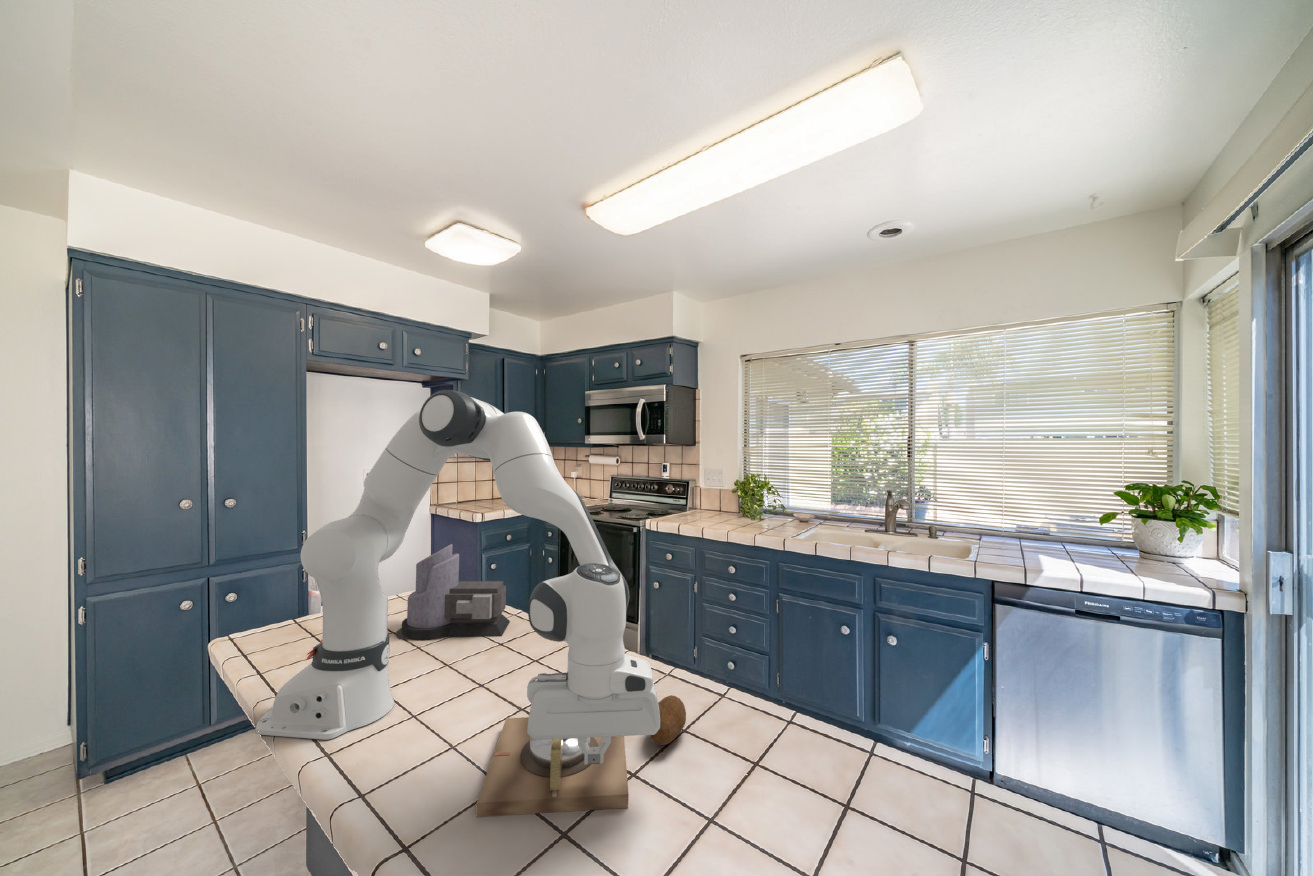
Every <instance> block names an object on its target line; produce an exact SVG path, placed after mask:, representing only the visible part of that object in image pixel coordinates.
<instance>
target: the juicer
mask: <svg viewBox="0 0 1313 876" xmlns="http://www.w3.org/2000/svg"><path fill="white" fill-rule="evenodd" d="M415 568H416V569H415V590H414V591H413V592H411V593H410V594H409V595H408V597H407V609H406V610H407V611H406V614H407V615H406V618H404V619H403V620H401V628H400V629H398V630H397V631H396V633H395V637H396V638H397V639H398V640H408V641H409V640H411V641H419V642H420V641H423V642H424V641H434V640H435V641H436V640H440V639H444V638H484V637H485V638H489V637H491V638H492V637H493V638H495V637H496V638H497V637H503V635H504V633H505V632H506V630H507V628H508V626H509V625H510V622H511V620H510V619H508V618H507V617H506V616H505V615H504V614H503V613H504V611H505V609H506V605H507V604H506V602H507V598H506V597H507V595H506V594H507V585H504V580H503V581H501V580H497V581H496V580H492V581H491V580H485V581H484V580H482V581H479V580H478V581H476V580H475V581H473V580H471V581H470V580H469V581H468V580H463V581H462V580H461V581H460V580H459V579H460V577H459V575H460V573H459V571H460V554H459V553H454V554H453V543H451V544H449V545H447V546H445V547H443V548H441V549H440V550H438V551H436V552H434V553H432V554H430V555H428V556H426V557H425V558H424V559H421V560H420V561H419V562H418V561H417V563H416V565H415Z"/></svg>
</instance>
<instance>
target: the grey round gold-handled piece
mask: <svg viewBox="0 0 1313 876" xmlns="http://www.w3.org/2000/svg"><path fill="white" fill-rule="evenodd" d="M587 744H588V746H589V747H590V737H588V738H587ZM530 756H531V758H532V760H533V761H534V762H535V763H537V764H538V765H540V766H543V767H547V768H550V790H559V789H560V781H561V773H562V768H564V767H568V766H571V765H574V764H576V763H578V762H580V761H581V760H583V759H584V758H585V754H583V752H582V750H581V749H580V747H579V745H578V738H565V739H542V740H533V739H531V738H530Z"/></svg>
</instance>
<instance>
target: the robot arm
mask: <svg viewBox="0 0 1313 876" xmlns="http://www.w3.org/2000/svg"><path fill="white" fill-rule="evenodd" d="M455 454H459V455H464V456H469V457H471V458H472V457H473V458H476V459H479V460H482V461H490V463H491V467H492V472H493V476H494V479H495V485H496V489H497V490H498V493H499V496H500V498H501V500H502V501H503V503H504V504H505V506H507V507H508V508H509V509H511V510H512V511H514V512H516V513H517V514H519V515H522V516H525V517H529V518H532V519H536V520H537V519H538V520H541V521H544V522H546V523H548V524H551V525H554V526H555V527H557V528H558V529H560V530H561V531H562V532H563V534H565V536H566V538H567V540H568V542H569V543H570V546H571V548H572V550H573V553H574V555H575V557H576V559H577V562H578V564H579V566H577V567H576V568H575V569H574V570H573V571H572V572H571V573H568V574H565V575H562V576H558V577H554V578H550V579H547V580H543V581H542V582H539V583H537V585H536V586H535V587H534V589H533V591H532V592H531V594H530V598H529V601H528V606H527V607H528V610H527V612H528V614H527V616H528V622H529V625H530V627H531V628H532V630H533V631H534V632H535V633H536V634H537V635H539V636H540V637H541V638H543V639H545V640H548V641H553V642H557V643H559V642H561V643H562V642H565V643H566V644H567V645H568V650H567V651H568V652H567V672H555V673H546V672H544V673H538V674H537V675H536V676H535V677H532V678H531V679H530V680H529V681H528V683H527V686H526V688H527V691H526V697H527V700H528V701H529V703H531V705H530V709H529V715H528V717H529V720H528V730H527V733H528V735H529V736H530V737H531V739H533V740H542V739H565V738H578V745H579V747H580V749H581V750H582V752H583V754H585V758H584V765H587V764H603V755H604V753H605V751H606V750H607V748H608V747H609V745H610V743H611V737H612V736H624V737H629V736H631V737H633V736H650V735H654V734H656V733H657V731H658V730H659V729H660V712H659V704H658V702H659V699H658V694H657V690H656V687H655V684H654V676H653V670H652V667H651V665H650V662H649V661H647V660H646V659H643V658H641V657H640V658H639V657H636V656H633V655H630V654H627V653H626V649H625V644H624V633H625V629H626V625H627V609H628V607H629V601H630V590H629V589H630V587H629V585H628V582H627V580H626V579H625V577H624V576H623V573H622V572H621V571H620V569H619V568H618V566H617V565H616V563H615V562H614V560H613V559H612V557H611V555H610V553H609V551H608V549H607V546H606V544H605V542H604V540H603V538H602V536H601V534H600V532H599V530H598V528H597V525H596V523H595V522H594V519H593V517H592V515H591V513H590V511H589V509H588V507H587V505H586V502H584V500H583V498H582V497H581V495H580V494H579V493H578V492H577V491H575V490H574V489H573V488H572V487H571V486H570V485H569V484H568V482H566V480H565V479H564V477H563V476H562V474H561V473H560V471H559V469H558V467H557V465H556V463H555V460H554V455H553V454H552V450H551V448H550V445H549V443H548V441H547V438H546V436H545V433H544V432H543V430H542V427H540V424H539V422H538V421H537V419H536V417H534V416H532V415H531V414H529V413H527V412H525V411H524V412H523V411H511V412H503V411H501V410H500V409H498V408H497V407H496V406H494V405H491V403H488V402H486V401H482V400H480V399H477V398H475V397H472V396H470V395H468V394H467V393H465V392H462V391H457V390H453V389H442V390H438V391H435V392H434V393H432V394H431V395H430V396H429V397H427V398H426V400H425V401H424V403H423V404H422V406H421V408H420V410H418V411H416V412H415V413H414V414H413V415H411V417H409V418H408V420H406V421H405V422H404V424H403V425H402V426H401V427H400V428H399V430H398V431H397V432H396V433H395V434H394V436H393V437H392V438H391V439H390V441H389V443H388V444H387V445H386V447H385V448H384V450H383V451H382V453H381V454H380V455H379V457H378V459H377V460H376V461H375V463H374V465H373V466H372V468H371V469H370V470H369V472H368V474H367V475H366V477H365V478H364V481H363V487H364V488H363V491H362V492H363V493H362V495H361V498H360V500H359V503H358V505H357V506H356V509H354V511H353V512H352V513H351V514H350V515H349V516H347V517H345V518H341V519H338V520H335V521H331V522H328V523H325V525H323V526H322V527H320V528H319V529H317V530H315V532H313V533H312V534H311V535H310V536H308V537H307V538H306V540H305V541H304V542H303V545H302V547H301V551H300V562H301V565H302V567H303V569H304V571H305V572H306V573H307V574H308V575H309V576H310V577H311V578H313V579H314V580H315V582H316V585H317V588H318V591H319V595H320V599H321V604H322V605H321V606H322V639H321V640H320V643H318V644H316V645H315V646H314V647H312V649H311V650H310V651H308V652H307V653H306V655H307V657H306V660H309V659H311V658H312V661H311V663H310V664H308V665H307V666H306V667H304V668H303V669H302V670H300V671H299V672H298V673H296V674H295V675H294V676H293V677H292V678H290V679H289V680H288V681H287V682H285V684H283V686H281V687H280V689H279V690H278V691H277V694H276V695H275V697H274V701H273V705H272V708H270V709H268V710H267V711H266V712H265V713H264V714H263V715H262V717H260V719H259V720H258V721H257V724H256V725H255V734H257V735H262V736H272V737H273V736H275V737H287V738H298V739H299V738H303V739H313V740H325V741H326V740H332V739H335V738H336V737H339V736H341V735H343V734H346V733H347V732H349V731H353V730H355V729H359V728H361V727H364V726H367V725H369V724H372V723H374V722H376V721H377V720H379V719H381V718H383V717H384V716H385V715H387V714H388V713H389V712H390V711H392V709H393V707H394V705H395V699H394V697H393V693H392V689H391V684H390V677H389V669H388V668H389V667H388V664H389V662H390V661H389V659H390V652H391V651H390V650H391V645H390V634H389V633H388V623H389V621H388V620H389V619H388V618H389V614H388V613H389V598H388V595H387V593H386V592H385V591H384V590H383V588H382V585H381V580H380V578H379V577H380V576H379V571H378V570H379V565H380V563H382V562H383V561H385V560H386V561H387V560H388V559H389V558H390V557H391V556H393V555H394V554H395V553H396V551H397V550H399V548H400V547H401V545H402V544H403V542H404V541H405V537H406V532H407V531H408V528H409V526H410V524H411V522H412V519H413V517H414V514H415V512H416V510H417V508H418V507H419V505H420V503H421V502H422V500H423V499H424V497H425V495H426V494H427V492H428V490H429V489H430V488H431V486H432V484H433V483H434V481H435V480H436V479H437V477H438V475H439V473H440V472H441V470H442V469H443V467H444V465H445V464H446V463H447V461H448V460H449V459H450V457H452V456H453V455H455ZM258 731H259V732H258ZM588 737H602V742H601V744H600V746H599V747H589V746H588V744H587V738H588Z"/></svg>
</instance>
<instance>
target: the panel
mask: <svg viewBox="0 0 1313 876" xmlns="http://www.w3.org/2000/svg"><path fill="white" fill-rule="evenodd" d="M528 720H529V716H525V717H506V718H505V720H504V723H503V727H502V729H501V731H500V735H499V737H498V741H497V744H496V746H495V750H494V751H493V755H492V758H491V761H490V764H489V767H488V769H487V773H486V775H485V778H484V781H483V784H482V787H481V790H480V791H479V795H478V798H477V801H476V811H475V812H476V813H475V814H476V815H475V817H476V818H477V817H478V818H479V817H495V816H496V817H497V816H510V815H511V816H513V815H527V814H542V813H543V814H544V813H545V814H546V813H547V814H548V813H563V812H579V811H595V810H613V809H615V810H616V809H627V808H629V795H630V794H629V784H628V783H629V781H628V772H627V771H628V770H627V759H626V758H627V757H626V745H625V743H626V742H625V736H612V737H611V743H610V745H609V747H608V748H607V750H606V751H605V753H604V755H603V764H587V765H584V759H583V760H581V761H580V762H578V763H576V764H574V765H571V766H568V767H564V768H562V773H561V781H560V789H559V790H550V768H547V767H543V766H540V765H538V764H537V763H535V762H534V761H533V760H532V758H531V756H530V738H531V737H530V736H529V735H528V733H527V730H528ZM601 742H602V737H590V747H599V746H600V744H601Z"/></svg>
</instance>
